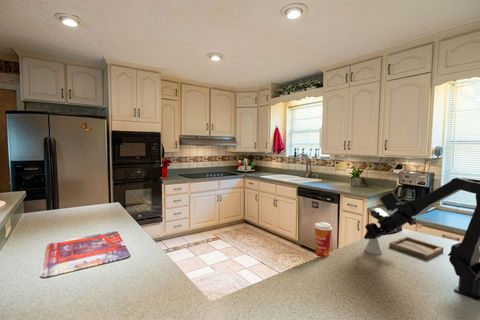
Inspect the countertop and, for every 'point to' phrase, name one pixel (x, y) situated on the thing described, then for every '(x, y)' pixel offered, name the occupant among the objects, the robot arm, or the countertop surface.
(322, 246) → the paper cup
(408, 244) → the walnut tray
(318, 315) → the countertop surface
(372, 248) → the flask
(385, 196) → the robot arm
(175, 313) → the countertop surface
